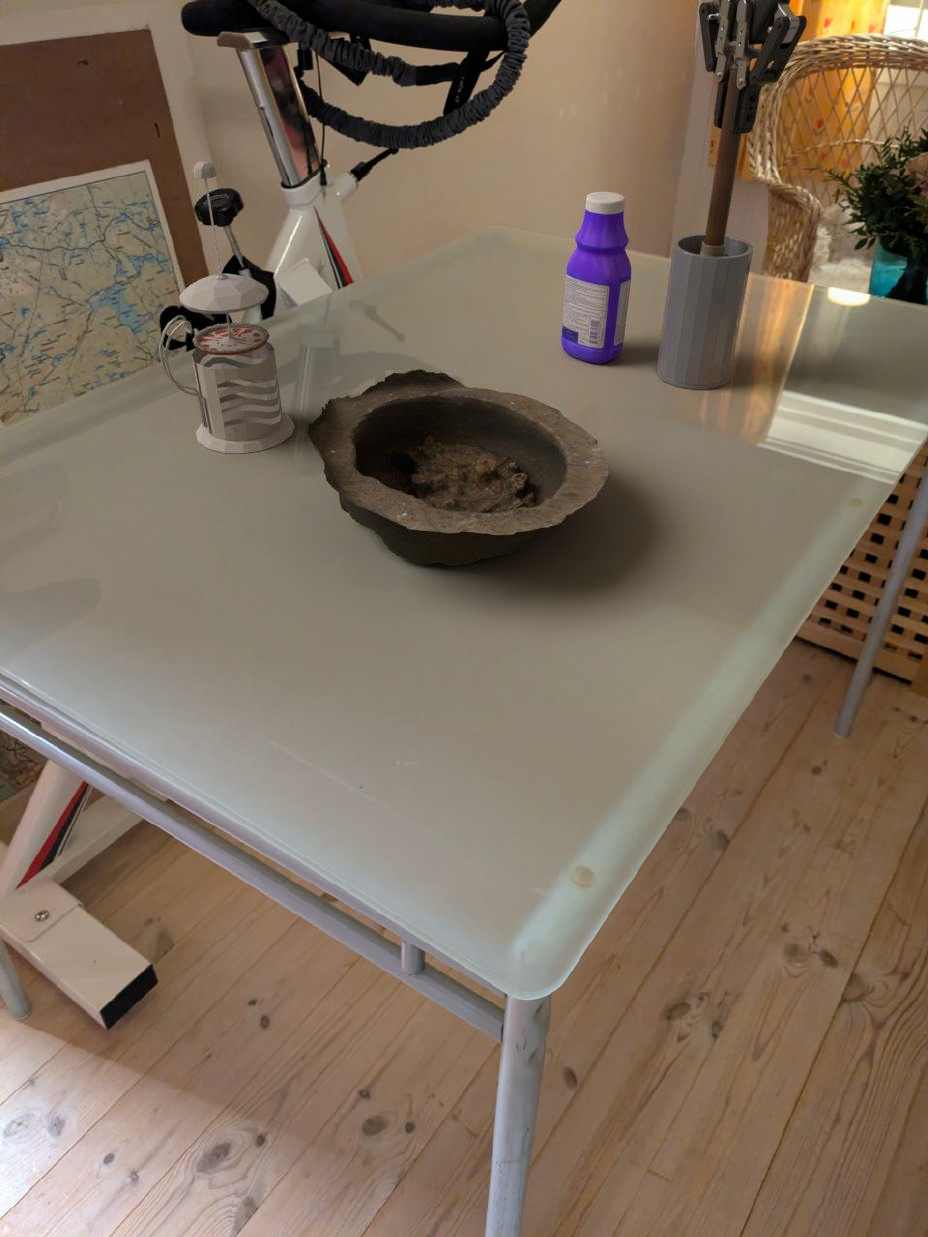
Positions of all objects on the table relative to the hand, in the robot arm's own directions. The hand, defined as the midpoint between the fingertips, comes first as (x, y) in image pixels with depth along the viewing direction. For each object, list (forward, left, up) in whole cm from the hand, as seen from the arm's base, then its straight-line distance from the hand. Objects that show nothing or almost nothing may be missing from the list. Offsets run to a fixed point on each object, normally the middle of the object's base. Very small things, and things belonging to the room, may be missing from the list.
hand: (732, 128), depth 91 cm
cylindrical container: (0, 0, -25) cm, 25 cm away
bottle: (+8, -9, -25) cm, 28 cm away
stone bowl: (+35, +18, -25) cm, 47 cm away
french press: (+50, -5, -25) cm, 56 cm away
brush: (0, 0, -17) cm, 17 cm away
